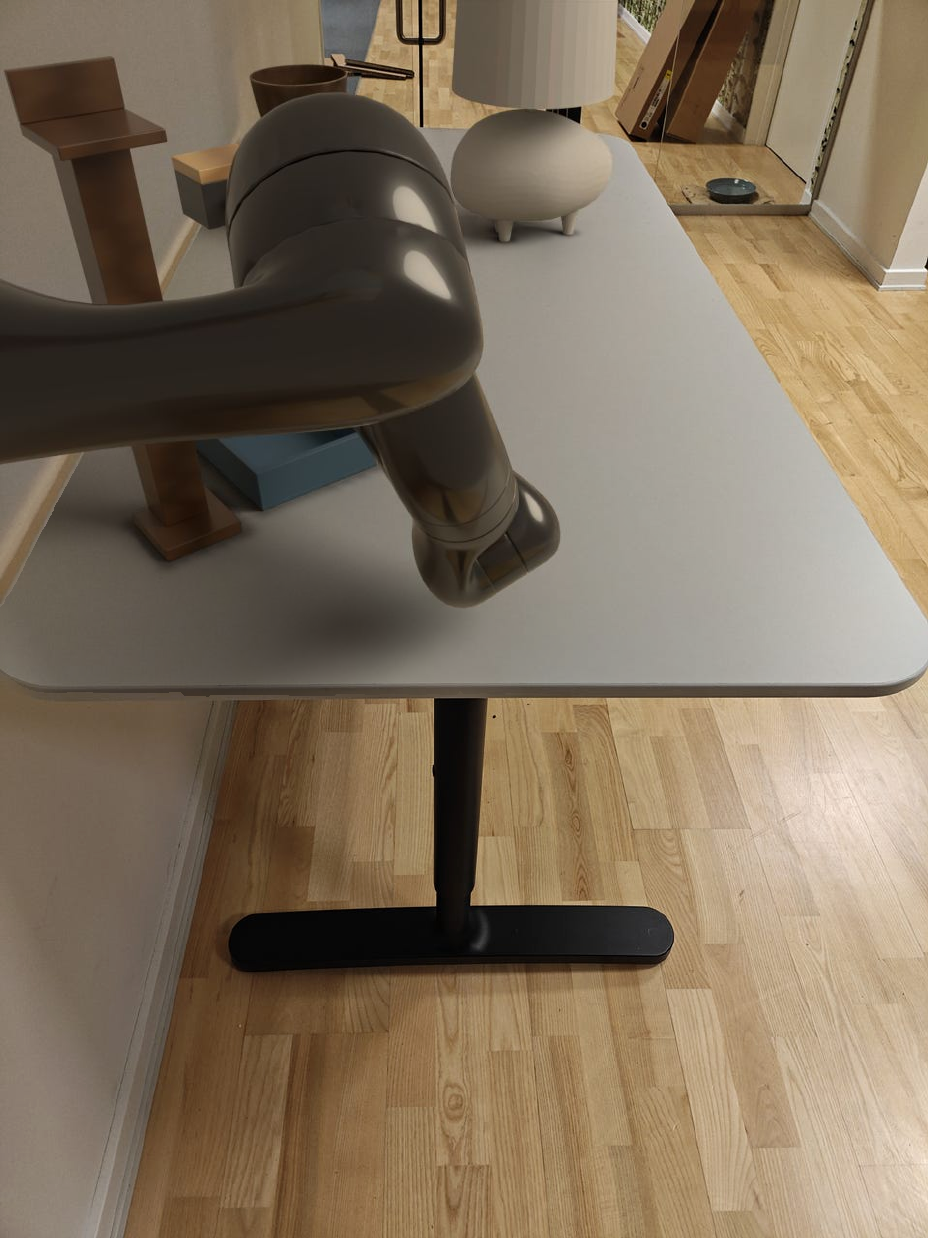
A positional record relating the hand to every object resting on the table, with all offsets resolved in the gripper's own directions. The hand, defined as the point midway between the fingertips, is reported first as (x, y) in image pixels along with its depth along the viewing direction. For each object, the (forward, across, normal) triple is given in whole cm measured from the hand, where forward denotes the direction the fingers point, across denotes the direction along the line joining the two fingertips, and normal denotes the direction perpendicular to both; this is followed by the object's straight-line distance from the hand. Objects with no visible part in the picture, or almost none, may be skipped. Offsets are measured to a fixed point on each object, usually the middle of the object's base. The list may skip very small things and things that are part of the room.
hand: (255, 193), depth 72 cm
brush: (0, 0, +3) cm, 3 cm away
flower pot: (+51, -45, +58) cm, 89 cm away
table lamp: (+16, -59, +38) cm, 72 cm away
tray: (-8, 0, +24) cm, 25 cm away
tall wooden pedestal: (-15, +13, +20) cm, 28 cm away
